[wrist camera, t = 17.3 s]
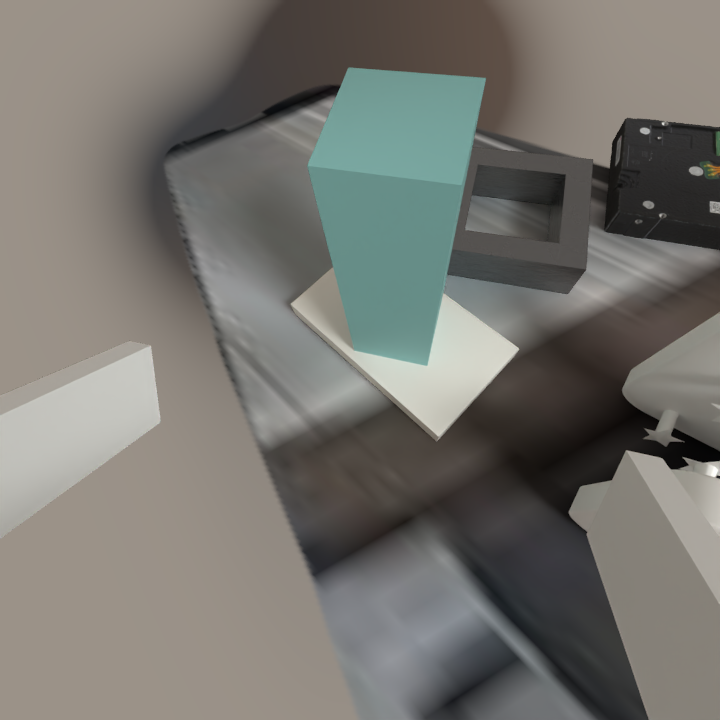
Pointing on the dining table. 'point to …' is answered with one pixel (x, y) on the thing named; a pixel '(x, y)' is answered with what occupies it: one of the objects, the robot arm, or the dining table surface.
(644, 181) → the disk drive
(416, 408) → the off-white pad
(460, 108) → the teal peg
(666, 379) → the cable organizer
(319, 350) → the dining table surface
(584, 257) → the socket block
